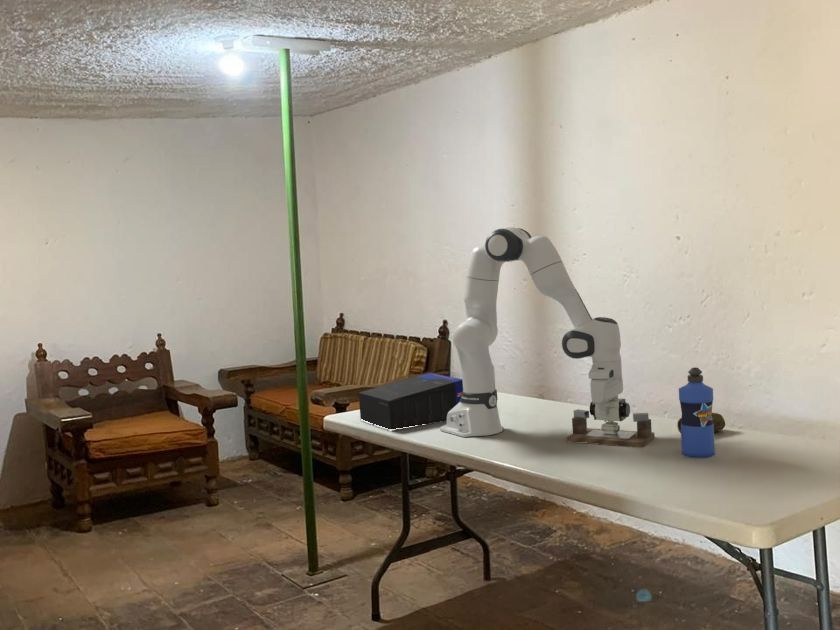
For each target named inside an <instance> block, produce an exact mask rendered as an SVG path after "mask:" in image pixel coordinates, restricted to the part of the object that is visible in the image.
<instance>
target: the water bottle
mask: <svg viewBox="0 0 840 630" xmlns="http://www.w3.org/2000/svg"><path fill="white" fill-rule="evenodd" d="M687 373H688V375H687V382H688V383H687V384H685V385H683V386H681V387H679V388H678V401H679V405H680V409H681V433H680V438H681V439H680V441H681V455H682V456H684V457H686V458H695V459H705V458H711V457H714V456H715V455H716V453H715V451H716V449H715V432H714V424H713V419H712V413H713V401H714V388H713V387H711V386H709V385H707V384H705V383H704V376H703V375H702V373H703V370H701V369H700V368H699V367H691V368H690V369H689V371H687Z"/></svg>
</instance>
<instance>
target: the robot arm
mask: <svg viewBox="0 0 840 630" xmlns="http://www.w3.org/2000/svg"><path fill="white" fill-rule="evenodd" d="M515 261H522V262H523V263H524V265H525V266H526V268H527V270H528V272H529V273H528V274H529V275H530V277H531V279H532V281H533V284H534V285H535V287H536V289H537V290H538V291H539V292H540V294H541V295H543V296H545V297H548V298H550V299H554V300H555V301H557V302H558V303H559V304H561V305H562V307H563V309H564V310H565V313H566V314H567V316H568V317H569V320H570V322H571V324H572V325H573V329H570V330H568V331H567V332H566V333H564V335H563V337H562V339H561V349H562V350H563V352H564V354H565V355H566V356H568V357H569V358H571V359H577V360H578V359H579V360H580V359H585V358H589V357H590V358H591V359H592V365H591V368H590V370H589V371H588V379H590V383H589V384H590V385H589V387H590V398H591V402H593V403H594V404H598V406H599V409H600V415H601V416H606V415H607V410H606V402H607V401H609V400H611V399H612V398H617V399H619V395H621V394H622V393H623V391H624V381H623V380H624V379H623V373H622V356H621V353H620V350H621V347H622V346H621V345H622V342H621V333H620V332H621V331H620V327H619V324H618V322H617V321H616V320H615V319H613V318H610V317H605V316H603V317H601V316H599V317H598V316H597V317H594V318H592V316H591V314H590V313H589V311H588V309H587V306H586V305H585V303H584V301H583V299H582V298H581V296H580V293H579V292H578V291H577V288H576V287H575V285H574V283H573V281H572V280H571V277H570V275H569V273H568V271H567V269H566V266H565V265H564V261H563V259H562V258H561V256H560V254H559V252H558V250H557V249H556V247H555V246H554V244H553V242H552V241H551V239H549V237H547V236H545V235H535V236H532V235H531V233H529V232H528V231H527V230H526V229H523V228H517V227H506V228H498V229H495V230H493V231H492V232H490V233H489V234H488V235H487V238H486V239H485V244H481V245H477V246H475V247H474V248H473V249H472V251H471V254H470V257H469V261H468V264H467V270H466V276H465V286H464V294H463V301H464V304H465V321H462V322H461V323H460V324H459V325H457V327H456V328H455V330H454V332H453V335H452V343H453V345H454V346H455V348H456V352H457V355H458V359H459V363H460V368H461V379H462V380H463V392H461V393H458V394H460V395H458V397H459V396H461V398H460V402H459V403H458V404H457V405H456V406H455V407H454V408H453V409H451V410H450V411H449V412H448V414H447V421H446V424H444V425H442V426H440V428H439V431H440V432H441V431H442V432H444V433H448V434H452V435H455V436H459V437H463V438H467V437H482V436H483V437H484V436H491V435H492V436H493V435H496V434H500V433H502V432H503V426H502V423H501V419H500V413H499V409H498V391H497V389H496V378H495V377H496V374H495V366H494V364H493V362H492V358H491V354H490V350H489V346H491V345H492V344H493V343H494V342H495V341H496V338H497V337H498V333H499V329H498V323H497V322H498V317H497V315H498V314H497V299H498V291H499V283H500V273H501V268H502V266H503V264H504V263H506V262H507V263H509V262H510V263H511V262H515Z"/></svg>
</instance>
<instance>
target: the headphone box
mask: <svg viewBox="0 0 840 630" xmlns="http://www.w3.org/2000/svg"><path fill="white" fill-rule="evenodd" d="M461 392H463V380H462V378H458V377H453V376H448V375H447V376H446V375H442V374H438V373H437V374H436V373H432V372H429V373H425V374H424V373H423V374H421V375H418V376H414V377H410V378H406V379H402V380H400V381H396V382H392V383H388V384H385V385H381V386H378V387H373V388H371V389H366V390H363V391H359V392H358V401H359V402H358V403H359V413H360V414H359V415H360V416H359V417H360V420H361V419H363V420H365V421H368V422H370V423H373V424H376V425H379V426H382V427H385V428H388V429H396V428H403V427H409V426H415V425H422V424H427V425H430V424H429V423H432V424H435V423H434V422H437V423H441V422H440V421H442V422H447V414H448V412H449V411H450V410H451V409H453V408H454V407H455V406H456V405H457V404H458V403H459V402H460V398H461V396H459V397H458V395H460V394H458V393H461ZM422 426H423V425H422Z"/></svg>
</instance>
